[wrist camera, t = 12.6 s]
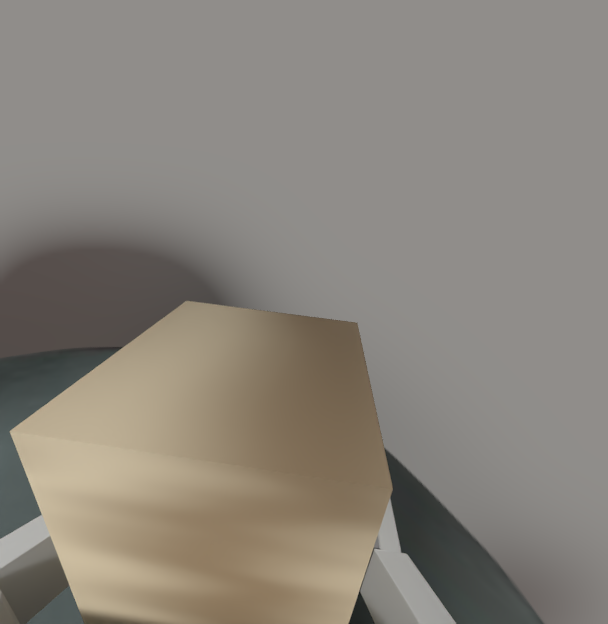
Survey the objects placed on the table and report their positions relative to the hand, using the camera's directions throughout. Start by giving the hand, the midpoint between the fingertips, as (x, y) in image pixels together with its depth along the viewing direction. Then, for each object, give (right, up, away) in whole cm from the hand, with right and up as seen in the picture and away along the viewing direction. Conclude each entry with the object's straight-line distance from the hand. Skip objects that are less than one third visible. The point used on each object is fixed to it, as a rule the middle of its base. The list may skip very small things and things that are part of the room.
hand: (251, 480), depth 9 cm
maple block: (-1, -6, +1) cm, 6 cm away
